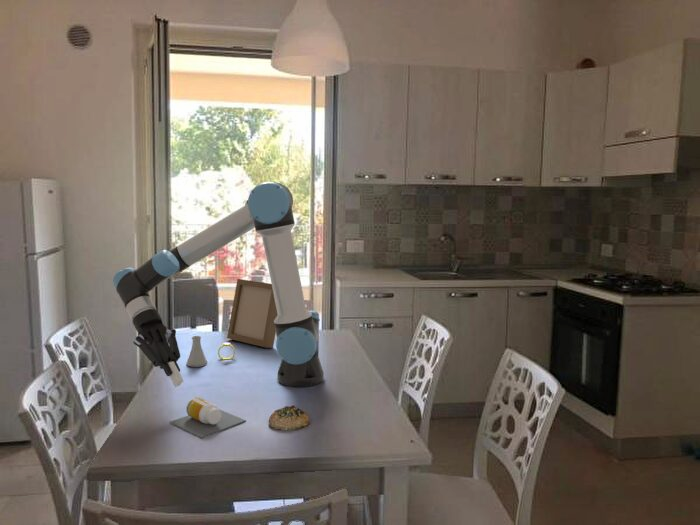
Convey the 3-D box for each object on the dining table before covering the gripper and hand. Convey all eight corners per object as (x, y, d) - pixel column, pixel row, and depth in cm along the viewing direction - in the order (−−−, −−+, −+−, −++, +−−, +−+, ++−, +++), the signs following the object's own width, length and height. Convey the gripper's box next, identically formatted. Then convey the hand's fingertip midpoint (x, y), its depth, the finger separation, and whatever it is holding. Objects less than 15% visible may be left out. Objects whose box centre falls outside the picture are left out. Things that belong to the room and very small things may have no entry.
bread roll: (284, 411, 159) (286, 395, 157) (317, 425, 153) (318, 408, 152) (258, 426, 149) (260, 409, 148) (292, 441, 144) (294, 424, 143)
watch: (234, 358, 208) (235, 342, 208) (234, 360, 206) (235, 344, 205) (217, 358, 207) (218, 342, 206) (217, 360, 204) (218, 344, 203)
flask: (201, 368, 195) (201, 340, 194) (182, 366, 196) (181, 338, 195) (210, 362, 202) (210, 335, 201) (192, 360, 203) (191, 333, 202)
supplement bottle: (188, 420, 151) (208, 431, 145) (183, 403, 150) (203, 413, 143) (204, 410, 155) (225, 420, 149) (200, 393, 153) (221, 402, 147)
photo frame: (265, 349, 219) (266, 286, 216) (226, 340, 231) (227, 280, 228) (290, 342, 231) (292, 282, 228) (252, 334, 243) (253, 276, 240)
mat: (169, 423, 149) (169, 421, 149) (213, 408, 160) (213, 406, 160) (202, 438, 140) (202, 437, 140) (245, 421, 151) (245, 420, 151)
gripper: (159, 319, 172) (193, 385, 163) (118, 326, 161) (152, 397, 153) (169, 304, 168) (204, 371, 159) (128, 311, 157) (163, 382, 149)
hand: (179, 383), depth 156 cm, fingers closed
